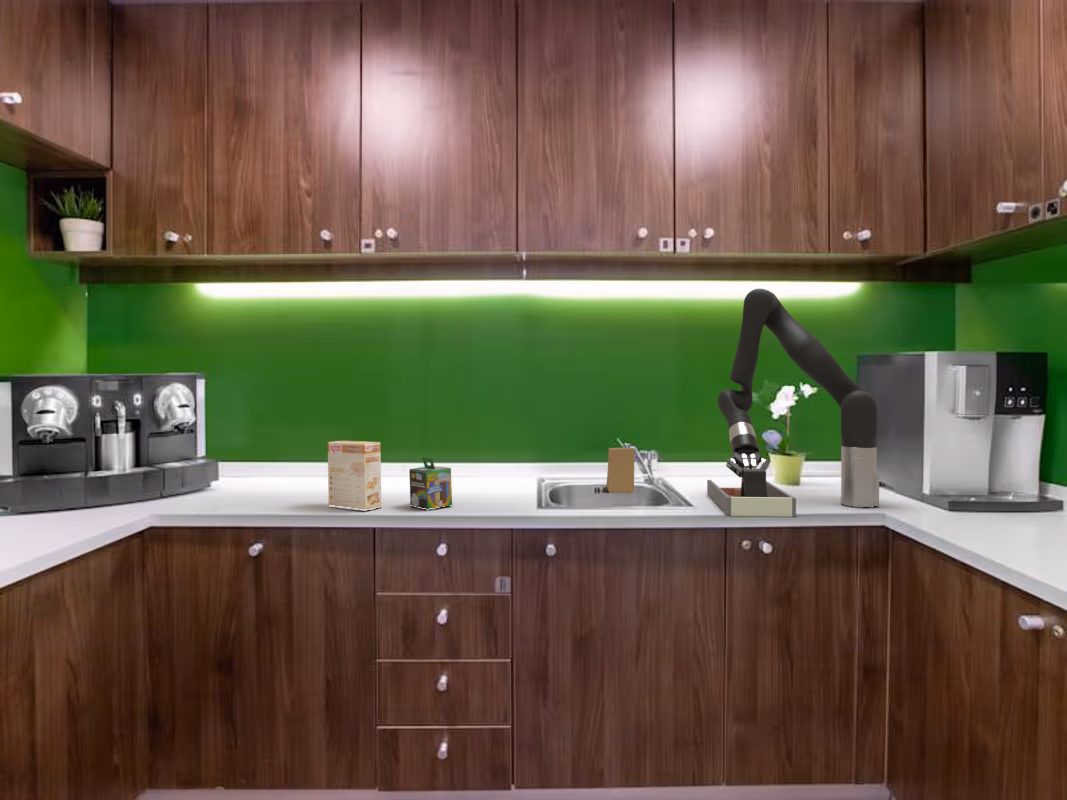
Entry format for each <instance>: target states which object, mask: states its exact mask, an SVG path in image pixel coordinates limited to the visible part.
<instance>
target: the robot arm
mask: <svg viewBox="0 0 1067 800" xmlns="http://www.w3.org/2000/svg"><path fill="white" fill-rule="evenodd" d="M742 308H743V309H742V319H741V328H740V332H739V333H740V334H739V339H738V342H737V347H736V351H735V355H734V359H733V362H732V367H731V371H730V373H729V380H730V381H731V382H732V383H735V384H737V385H740V389H741V391H740V390H737V389H731V388H730V389H729V388H725V389H722V390H721V391H720V392H719V394H718V396H717V406H718V409H719V410H720V412H721V414H722V415H723V417H724V419H725V421H726V422H727V427H728V432H729V443H730V446H731V452H732V457H731V458H727V460H726V465H725V467H727V468H728V469H729V470H730V471H731V472H733V473H734V475H736V476H737V477H739V478H742V469H757V467H758V466H759V464H760V467H759V469H765V470H766V471H767V470H768V468H769V467H770V465H771V459H769V458H767V459H765V458H763V456H762V454H761V453H760V449H759V445H758V441H757V436H756V432H755V430H754V427H753V423H752V417H751V415H750V414H749V413H748V412H750V411H751V409H752V407H753V381H754V376H755V372H756V369H757V364H758V359H759V352H760V343H761V336H762V332H763V328H764V326H765V327H766V328H767V329H769V330H770V332H772V333H773V335H774V336H775V338H777V340H778V341H779V343H780V345H781V346H782V348H783V349H784V352H786V354H787V356H788V357H789V358H790V359H791V361H793V362H794V364H796V366H797V367H798V368H799V369H800V370H801V371H802V372H803V373H804V374H805V375H807V376H808V377H809V378H810V379H811V380H813V381H814V382H815V383H816V384H817V385H819V386H821V387H822V388H823V389H824V390H825V391H826V392H827V393H828V394H829V395H830V396H831V397H832V398H833V400H834V401H835V402H836V403H837V405H838V406H839V407H840V438H841V439H840V441H841V445H840V446H841V450H840V452H841V454H840V456H841V457H840V460H841V461H840V466H841V468H840V475H841V476H840V504H841V505H842V504H844V505H843V506H846V505H847V506H846V507H851V506H853V508H854V507H855V508H863V507H869V508H873V507H872V506H879V507H880V473H878V472H877V458H878V457H877V445H878V432H877V429H878V425H877V424H878V423H877V422H878V404H877V401H876V399H875V398H874V397H873V395H872V394H870V393H868V392H867V391H866V390H865V389H863V388H862V387H861V386H860V385H859V384H858V383H856V382H855V381H854V380H853V379H851V378H850V376H849V375H848V374H847V373H846V372H845V371H844V370H843V368H842V366H841V365H840V364H839V363H838V361H837V360H836V359H835V357H833V355H832V354H831V352H829V350H828V349H827V348H826V347H825V346H824V345H823V344H822V343H821V342H820V341H819V340H818V339H817V337H815V336H814V335H813V334H812V333H811V332H810V331H809V330H808V329H806V328H805V327H804V326H803V325H802V324H801V323H799V322H798V321H797V320H796V319H794V318H793V317H792V315H791V314H790V313H789V312H788V311H787V309H786V308H785V307H784V305H783V304H782V303H781V302H780V300H779V299H778V297H777V296H776V294H775V293H774V292H772V291H770V290H768V289H765V288H754V289H752V290H751V291H749V292H748V293H746V296H745V297H744V301H743V307H742Z"/></svg>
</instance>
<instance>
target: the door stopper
mask: <svg viewBox="0 0 1067 800" xmlns="http://www.w3.org/2000/svg"><path fill="white" fill-rule="evenodd" d="M766 471H767V470H765V469H760V468H756V469H742V477H741V485H740V488H741V494H740V497H767V486H766V481H767V472H766Z"/></svg>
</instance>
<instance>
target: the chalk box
mask: <svg viewBox="0 0 1067 800" xmlns="http://www.w3.org/2000/svg"><path fill="white" fill-rule="evenodd" d="M422 461H423V465H424V466H421V467H417V468H410V469H409V499H410V501H409V502H410V503H409V505H412V506H416V507H421V508H426V509H429V508H436V507H443V506H449V507H451V506H450V505H452V506H453V496H452V495H453V494H452V491H453V490H452V467H447V466H446V467H445V466H438V465H437V466H436V465H434V460H433V458H432V457H428V456H427V457H426V456H423V457H422ZM427 462H430V465H429V464H428V463H427Z"/></svg>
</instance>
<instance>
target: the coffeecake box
mask: <svg viewBox="0 0 1067 800" xmlns="http://www.w3.org/2000/svg"><path fill="white" fill-rule="evenodd" d="M381 444H382V443H381V442H380V441H360V440H335V441H328V442H327V474H328V475H327V478H328V479H327V480H328V488H327V489H328V506H329V505H335V506H343V507H351V508H358V509H370V508H374V507H379V506H381V507H382V466H381V465H382V463H381V462H382V459H381V458H382V456H381Z"/></svg>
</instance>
